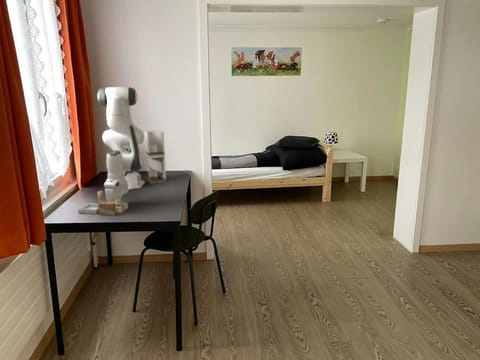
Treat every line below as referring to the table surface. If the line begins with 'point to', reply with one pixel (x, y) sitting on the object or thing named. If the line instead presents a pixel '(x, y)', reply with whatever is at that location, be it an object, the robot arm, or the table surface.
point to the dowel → (100, 196)
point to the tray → (89, 209)
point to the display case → (155, 156)
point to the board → (120, 207)
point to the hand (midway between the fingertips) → (118, 204)
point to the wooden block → (107, 208)
